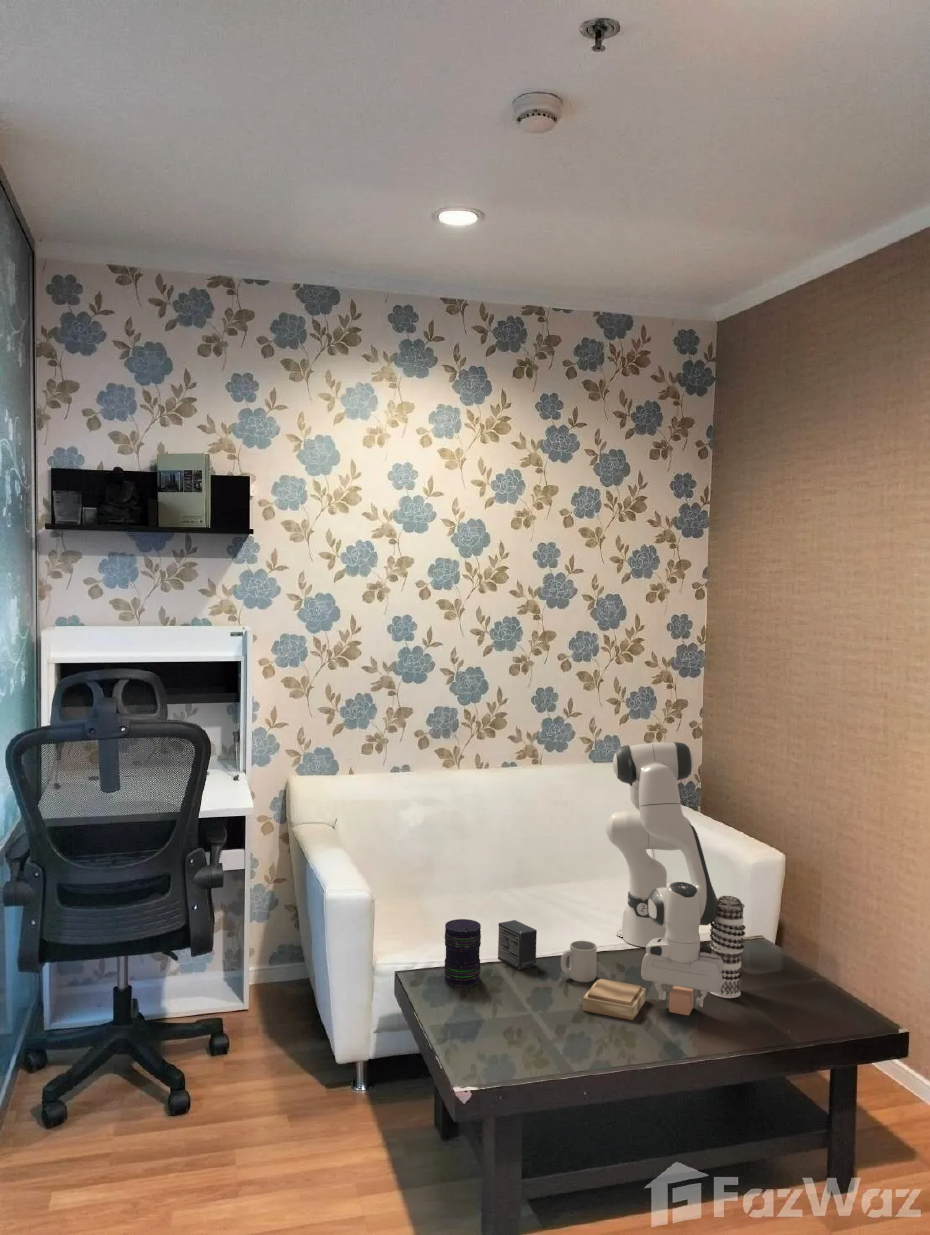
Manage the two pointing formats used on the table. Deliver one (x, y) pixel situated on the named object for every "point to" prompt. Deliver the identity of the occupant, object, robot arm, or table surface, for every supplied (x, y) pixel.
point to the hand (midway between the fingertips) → (680, 1002)
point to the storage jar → (462, 952)
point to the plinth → (614, 999)
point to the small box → (517, 944)
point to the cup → (580, 961)
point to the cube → (681, 1000)
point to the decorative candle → (728, 944)
